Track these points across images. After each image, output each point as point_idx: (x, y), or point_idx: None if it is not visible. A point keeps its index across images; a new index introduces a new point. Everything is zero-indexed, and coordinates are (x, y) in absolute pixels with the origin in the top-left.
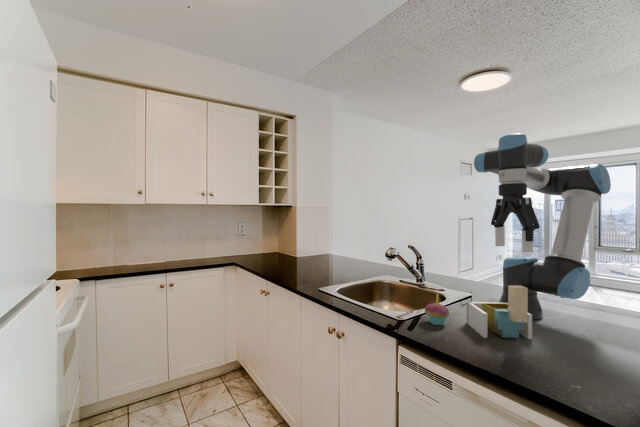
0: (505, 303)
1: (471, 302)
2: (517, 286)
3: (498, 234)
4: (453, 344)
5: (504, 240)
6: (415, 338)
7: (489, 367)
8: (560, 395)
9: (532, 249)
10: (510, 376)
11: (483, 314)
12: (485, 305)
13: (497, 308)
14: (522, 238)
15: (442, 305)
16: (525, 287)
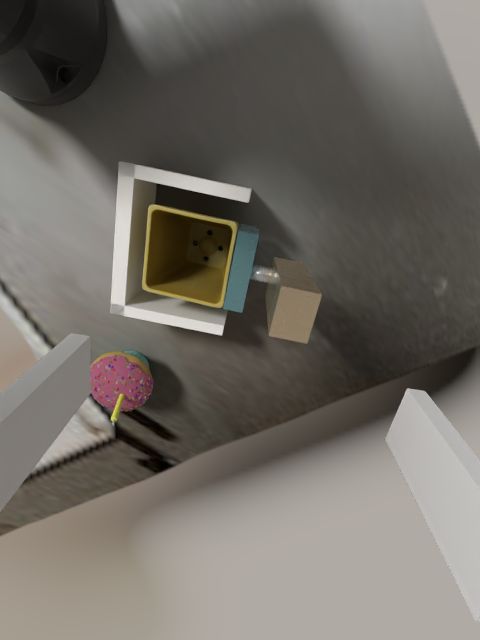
0: (128, 186)
1: (117, 302)
2: (291, 314)
3: (30, 455)
4: (250, 392)
5: (62, 362)
6: (214, 444)
7: (344, 385)
8: (448, 338)
9: (434, 406)
10: (379, 372)
11: (220, 334)
12: (168, 295)
13: (157, 238)
14: (439, 532)
15: (119, 380)
16: (310, 294)
